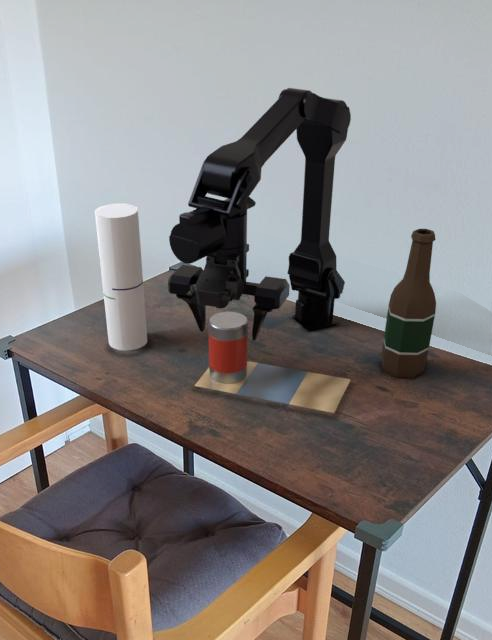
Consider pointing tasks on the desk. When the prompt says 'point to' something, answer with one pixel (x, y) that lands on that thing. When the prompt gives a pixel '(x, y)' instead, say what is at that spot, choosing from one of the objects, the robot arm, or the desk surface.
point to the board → (285, 386)
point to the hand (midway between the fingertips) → (228, 335)
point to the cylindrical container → (122, 275)
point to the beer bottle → (411, 312)
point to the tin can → (228, 347)
